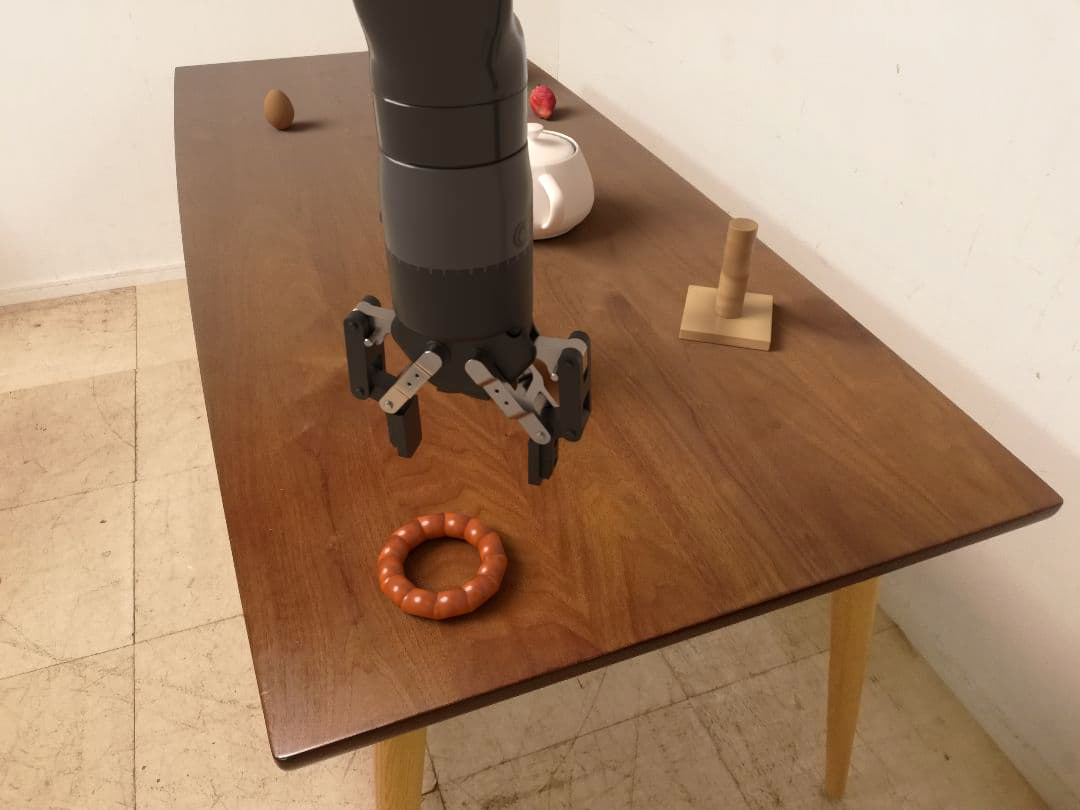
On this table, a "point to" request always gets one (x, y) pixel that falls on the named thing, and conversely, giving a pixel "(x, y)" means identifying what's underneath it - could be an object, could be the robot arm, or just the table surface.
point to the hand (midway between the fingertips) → (473, 462)
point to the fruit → (542, 101)
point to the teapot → (557, 182)
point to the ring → (450, 600)
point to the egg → (278, 109)
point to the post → (730, 299)
